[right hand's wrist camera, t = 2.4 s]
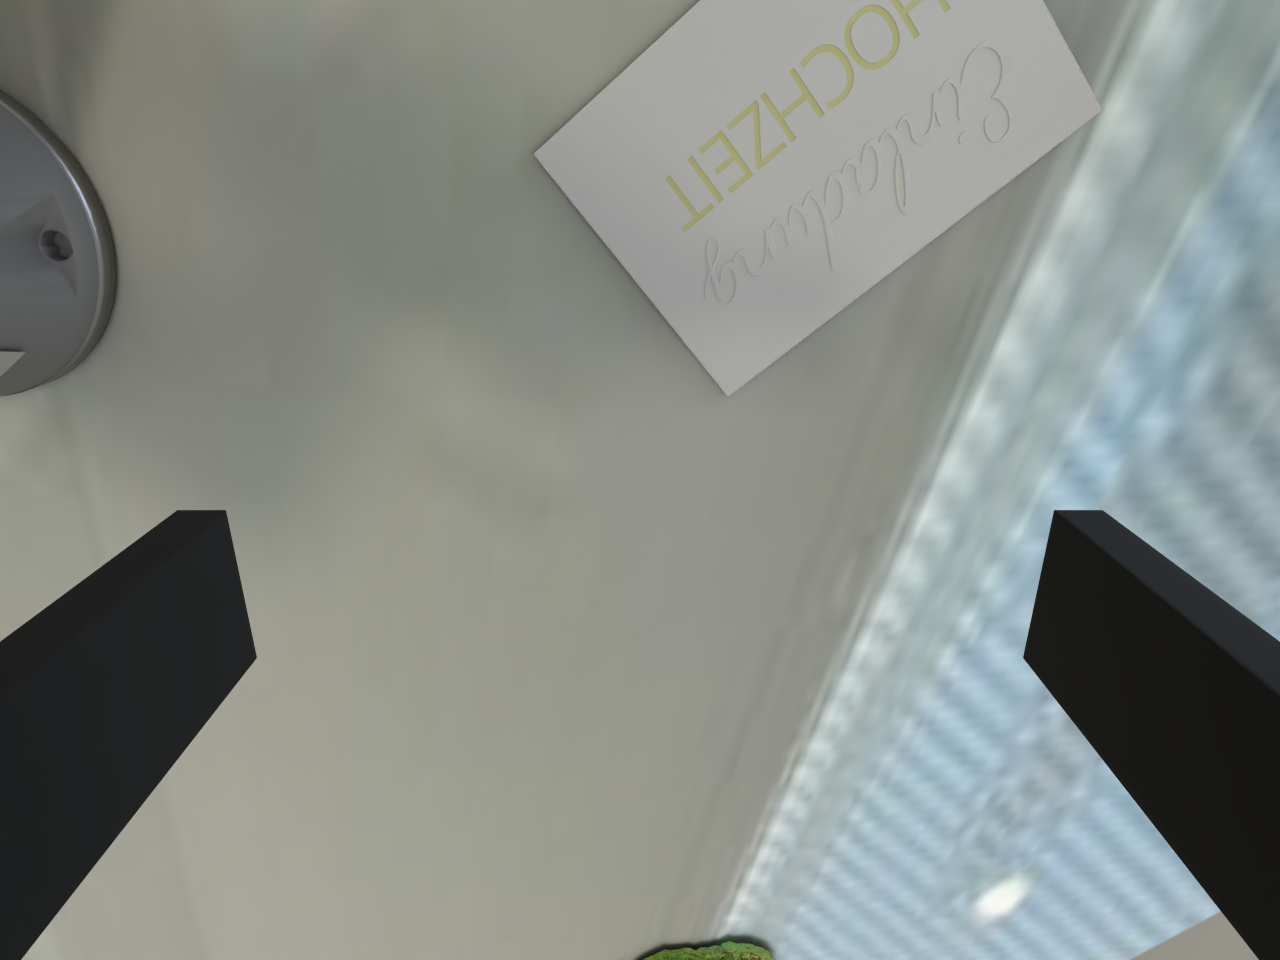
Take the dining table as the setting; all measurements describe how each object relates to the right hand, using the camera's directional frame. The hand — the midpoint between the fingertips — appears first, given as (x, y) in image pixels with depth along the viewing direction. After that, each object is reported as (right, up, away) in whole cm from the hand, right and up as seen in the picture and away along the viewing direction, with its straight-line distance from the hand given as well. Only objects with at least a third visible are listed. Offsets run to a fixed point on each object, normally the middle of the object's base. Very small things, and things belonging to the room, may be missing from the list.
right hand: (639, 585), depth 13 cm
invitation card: (+8, +18, +24) cm, 31 cm away
